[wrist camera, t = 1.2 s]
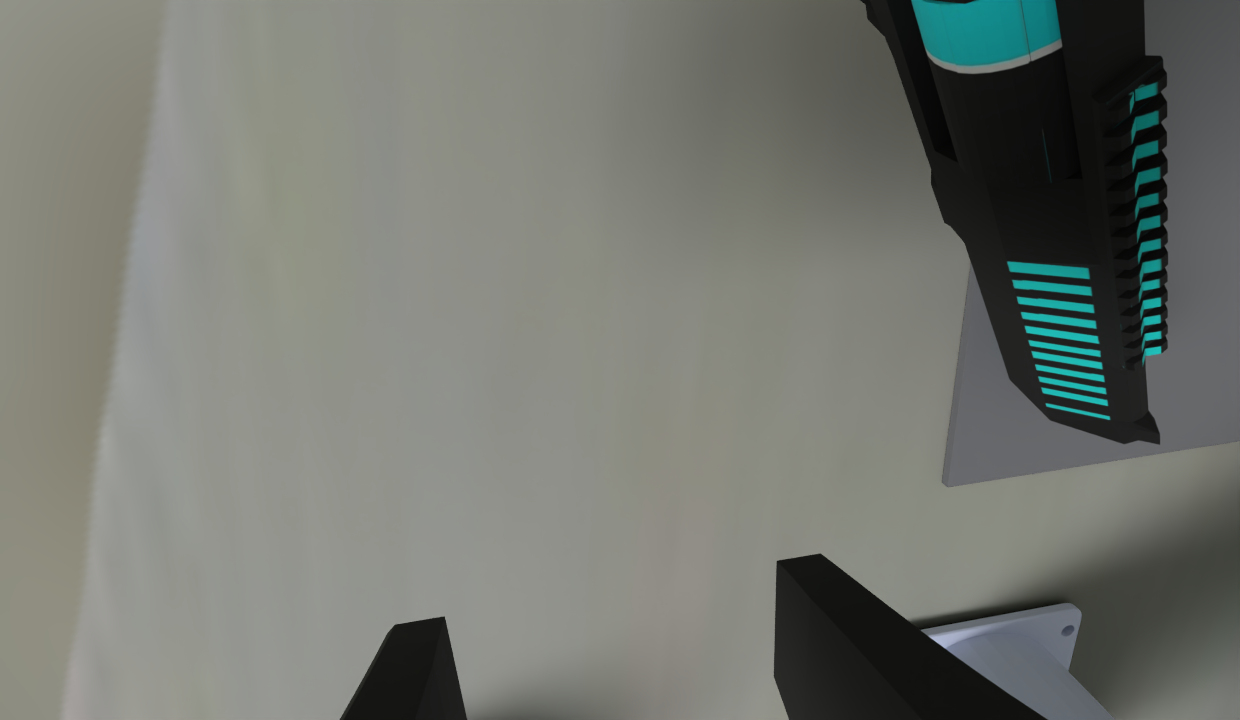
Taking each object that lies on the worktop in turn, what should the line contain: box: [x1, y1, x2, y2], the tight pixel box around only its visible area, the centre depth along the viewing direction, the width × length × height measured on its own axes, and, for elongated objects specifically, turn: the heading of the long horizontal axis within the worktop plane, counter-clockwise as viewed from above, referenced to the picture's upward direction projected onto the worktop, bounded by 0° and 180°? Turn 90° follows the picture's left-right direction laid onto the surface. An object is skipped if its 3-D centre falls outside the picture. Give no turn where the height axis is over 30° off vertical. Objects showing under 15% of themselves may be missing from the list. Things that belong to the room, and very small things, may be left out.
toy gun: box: [861, 0, 1168, 445], centre depth 15 cm, size 3×20×10 cm, turn 39°
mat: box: [942, 0, 1240, 487], centre depth 18 cm, size 24×14×1 cm, turn 4°
